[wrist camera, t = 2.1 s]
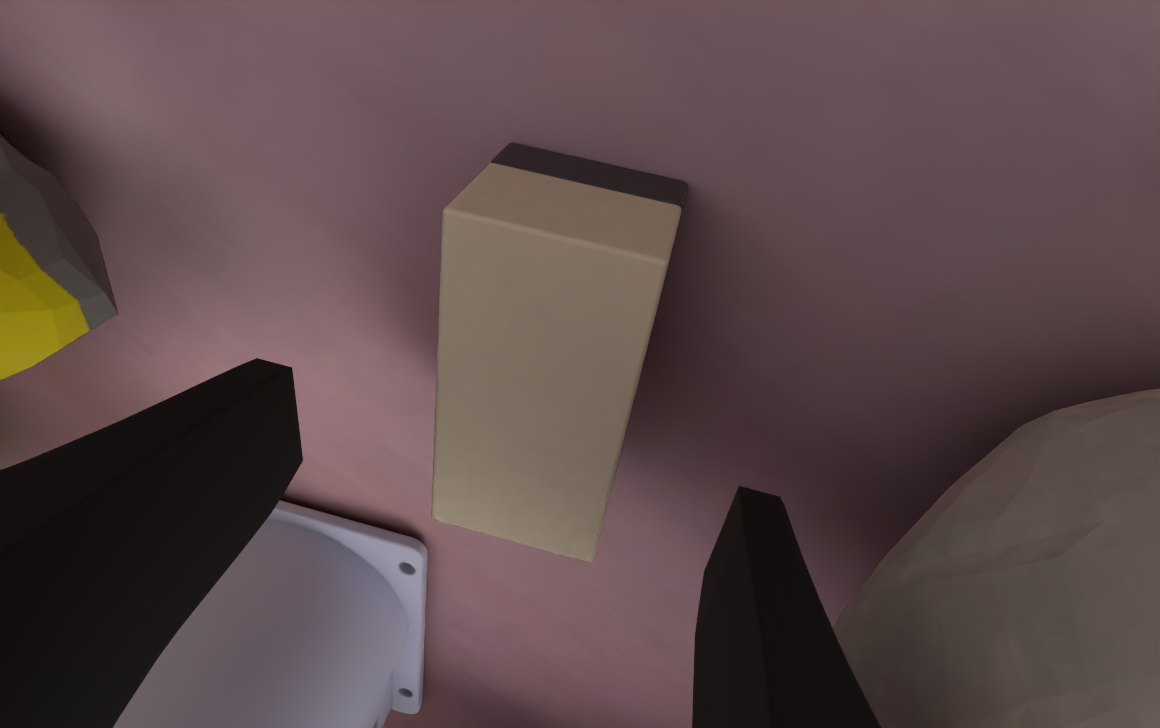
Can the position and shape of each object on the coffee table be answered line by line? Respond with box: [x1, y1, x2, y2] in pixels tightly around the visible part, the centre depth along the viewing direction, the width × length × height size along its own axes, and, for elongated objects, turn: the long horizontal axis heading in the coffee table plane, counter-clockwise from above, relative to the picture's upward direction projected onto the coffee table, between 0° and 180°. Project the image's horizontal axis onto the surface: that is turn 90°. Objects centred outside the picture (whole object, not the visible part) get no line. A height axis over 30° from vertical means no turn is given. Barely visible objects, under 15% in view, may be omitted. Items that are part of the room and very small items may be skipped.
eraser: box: [431, 143, 688, 562], centre depth 14 cm, size 4×7×4 cm, turn 171°
